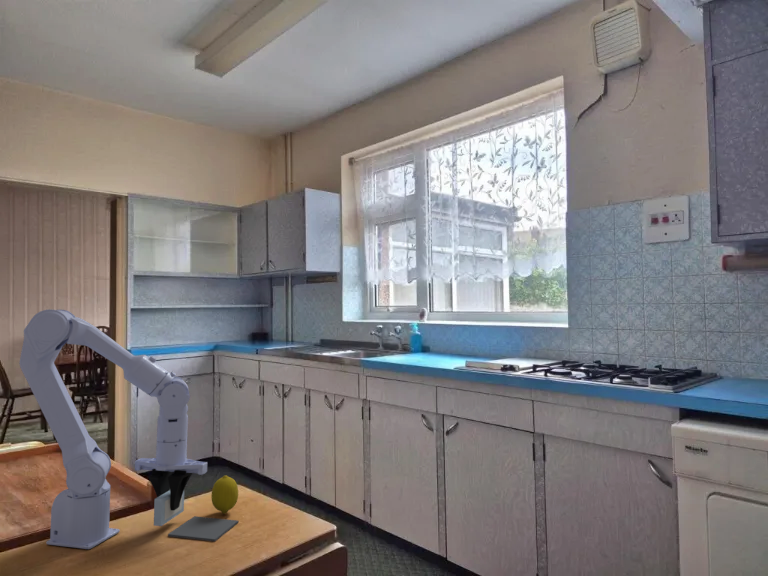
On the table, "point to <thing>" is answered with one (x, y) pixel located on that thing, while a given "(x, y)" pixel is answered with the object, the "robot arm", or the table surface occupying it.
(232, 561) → the table surface
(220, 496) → the lemon
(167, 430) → the robot arm
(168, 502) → the plaque
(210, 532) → the mat
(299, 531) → the table surface
